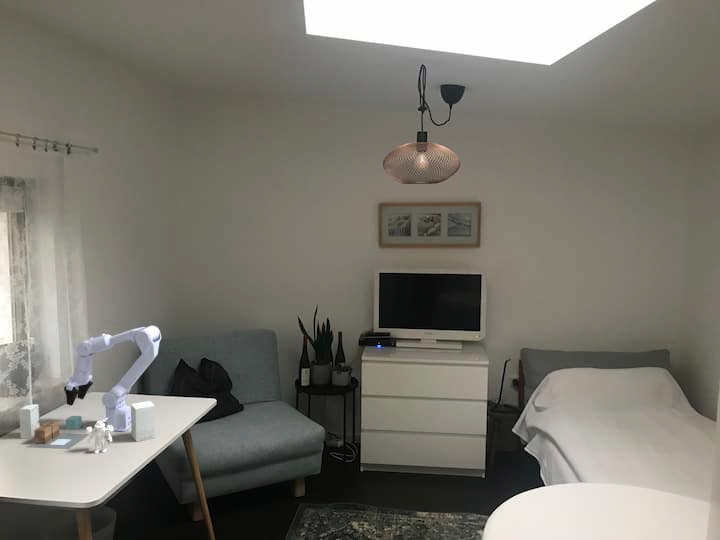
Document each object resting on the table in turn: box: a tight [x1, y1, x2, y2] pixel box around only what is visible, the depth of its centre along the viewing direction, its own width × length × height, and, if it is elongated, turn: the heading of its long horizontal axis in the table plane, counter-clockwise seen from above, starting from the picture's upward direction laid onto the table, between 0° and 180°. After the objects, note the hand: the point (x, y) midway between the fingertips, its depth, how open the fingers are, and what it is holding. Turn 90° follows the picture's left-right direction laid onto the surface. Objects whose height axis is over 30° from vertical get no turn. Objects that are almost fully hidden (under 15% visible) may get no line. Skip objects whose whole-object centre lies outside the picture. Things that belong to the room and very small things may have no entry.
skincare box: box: [18, 403, 41, 440], centre depth 215 cm, size 6×4×12 cm
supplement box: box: [130, 400, 157, 442], centre depth 217 cm, size 7×7×13 cm
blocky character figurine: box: [85, 417, 114, 454], centre depth 203 cm, size 9×4×12 cm, turn 107°
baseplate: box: [26, 432, 90, 450], centre depth 211 cm, size 16×14×1 cm
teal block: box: [65, 415, 83, 431], centre depth 224 cm, size 4×4×5 cm
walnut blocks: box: [34, 421, 60, 444], centre depth 212 cm, size 4×8×5 cm, turn 176°
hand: (75, 401), depth 227 cm, fingers open, 7 cm apart
